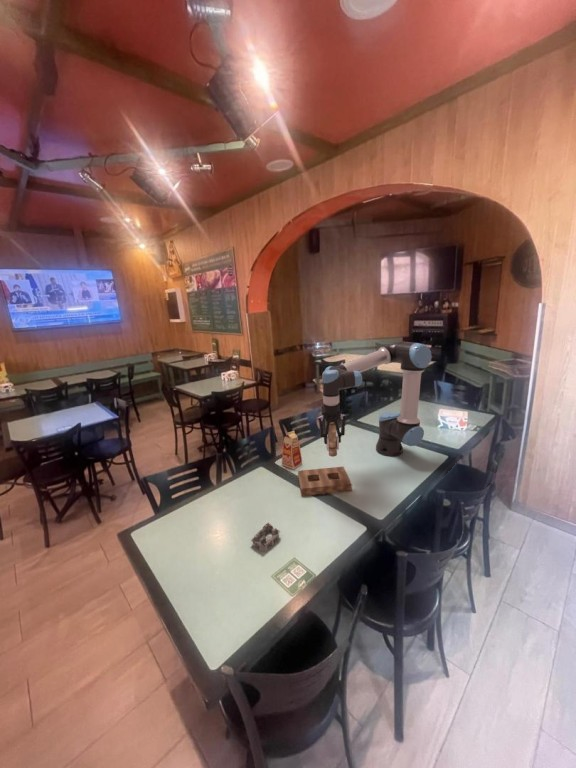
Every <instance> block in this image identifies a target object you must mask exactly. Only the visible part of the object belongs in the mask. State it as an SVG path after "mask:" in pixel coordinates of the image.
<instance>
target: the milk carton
mask: <svg viewBox="0 0 576 768" xmlns="http://www.w3.org/2000/svg"><path fill="white" fill-rule="evenodd" d="M282 445H283V447H282V455H281V465H282V466H283V467H287V468H289V469H292V470H296V469H297V468H298V467H299V466H301V465H302V464H303V459H302V458H303V457H302V451H301V447H300V441H299V437H298V436H297V434H296V433H295V430H292V431H289V432H286V435H285V436H284V440H283V444H282Z"/></svg>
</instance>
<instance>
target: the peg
mask: <svg viewBox="0 0 576 768" xmlns="http://www.w3.org/2000/svg"><path fill="white" fill-rule="evenodd" d="M336 435H337V431H336V425H335V423H333V422H332V423H330V425H329V430H328V435H327V436H328V438H329V451H328V456H330V457H332V458H333V457H337V455H338V450H337V438H336Z"/></svg>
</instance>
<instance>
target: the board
mask: <svg viewBox="0 0 576 768" xmlns="http://www.w3.org/2000/svg"><path fill="white" fill-rule="evenodd" d="M297 477H298V478H299V479H298V483H299V490H300V496H301V497H306V496H307V497H308V496H315V495H316V494H318V495H325V493H328V494H336V493H337V494H338V493H347V492H348V493H349V492H352V490H353V489H352V488H353V487H352V482H351V479H350V477H349V475H348V473H347V470H346V468H345V466H333V467H325V468H314V469H313V468H312V469H305V470H304V469H303V470H297ZM316 496H317V495H316Z"/></svg>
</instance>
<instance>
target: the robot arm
mask: <svg viewBox="0 0 576 768" xmlns="http://www.w3.org/2000/svg"><path fill="white" fill-rule="evenodd" d="M431 361H432V351H431V349H430V348H429V346H427V345H426V344H424V343H420V342H411V341H410V342H409V341H402V340H401V341H395V342H393V343H390V344H386V345H384V346H381V347H379V349H378V350H376V351H373V352H370V353H368V354H365V355H363V356H361V357H358V358H355V359H352V360H349V361H347V362H345V363H342V364H339V365H335V366H334V365H330V366H328V367H325V369H324V371H323V372H322V375H321V376H322V377H321V381H322V402H323V406H322V407H323V408H322V409H323V413H322V415H321V416H317V420H318V425H319V435H320V438H323V443H324V444H325V446H326V447H325V448H326V451H327V452H329V438H328V430H329V425H330V423H332V422H333V423H335V425H336V438H337V451H339V450H340V443H342V440H341V439H342V436H345V435H346V430H345V429H346V428H345V427H346V423H345V422H346V419H347V416H346V414H345V413H343V414H342V413H341V412H340V391H341V390H347V389H351V388H356V387H360V386H361V385H362V384H363V376H362V373H363V372H365V371H368V370H370V369H373V368H376V367H378V366H381V365H383V364H384V365H389V364H392V363H393V364H395V363H397V364H400V370H401V372H403V374H402V387H401V399H400V410H399V411H400V412H396V411H387V412H383V413H380V415H379V417H378V439H377V442H376V443H375V444H376V445H375V451H376V452H377V453H378V454H380V455H383V456H386V457H397V456H401V455H402V454H403V451H404V447H403V445H407V446H408V447H415V446H416V445H418V444H419V443H420V442H421V441H422V440H423V439H424V435H425V430H424V428H423V427H422V426H420V425H421V421H420V419H419V417H418V413H419V403H420V401H419V400H420V391H421V381H422V373H423V372H425V370H426V368H427V367H428V366H429V365H430V363H431ZM339 419H340V420H341V421H340V427H339V422H338V420H339ZM323 420H325V424H323ZM323 425H325V426H323ZM323 429H324V430H323Z"/></svg>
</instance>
